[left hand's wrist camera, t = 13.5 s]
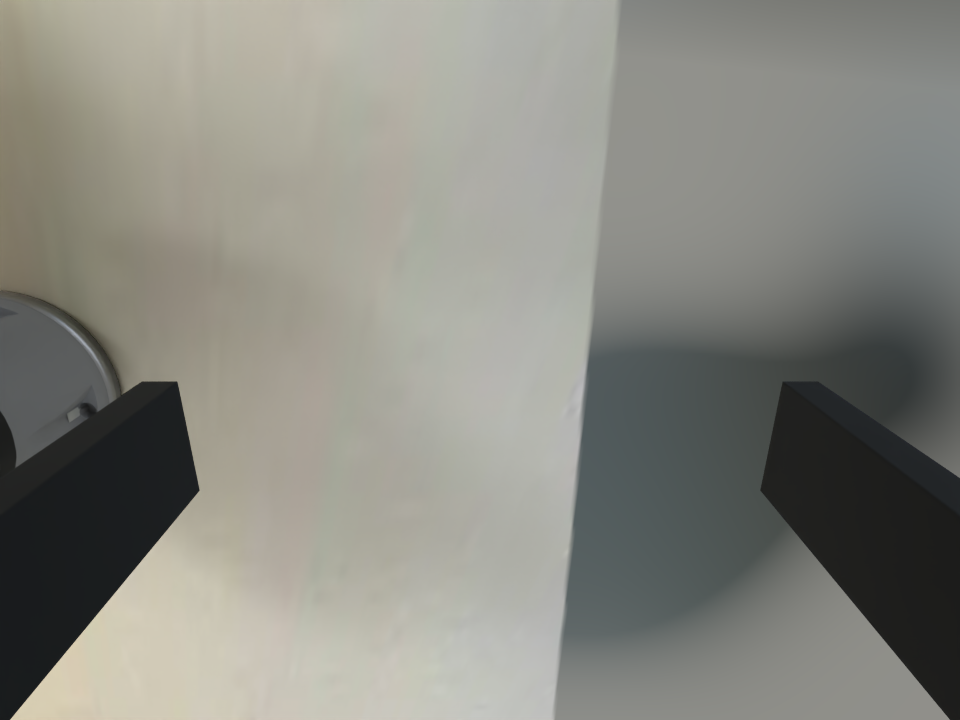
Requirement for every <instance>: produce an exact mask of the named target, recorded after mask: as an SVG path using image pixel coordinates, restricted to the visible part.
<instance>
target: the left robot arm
mask: <svg viewBox="0 0 960 720" xmlns="http://www.w3.org/2000/svg"><path fill="white" fill-rule="evenodd" d="M199 491H200V490H199V485H198V480H197V475H196V470H195V466H194V461H193V456H192V451H191V446H190V441H189V436H188V431H187V427H186V422H185V417H184V412H183V407H182V402H181V397H180V392H179V387H178V383H177V382H141V383H139V384H138V385H136V386H135V387H133V388H132V389H130V390H129V391H127V392H126V393H125V394H123V395H122V396H121V391H120V386H119V382H118V379H117V376H116V373H115V371H114V368H113V366H112V364H111V362H110V360H109V359H108V357H107V355H106V354H105V352H104V351H103V349H102V348H101V346H100V345H99V344H98V342H97V341H96V340H95V339H94V338H93V337H92V336H91V334H90V333H89V332H88V331H87V330H86V329H85V328H83V327H82V326H81V325H80V324H79V323H78V322H76V321H75V320H74V319H73V318H71V317H70V316H68V315H67V314H66V313H64V312H63V311H61V310H59V309H57V308H56V307H54V306H52V305H50V304H48V303H46V302H44V301H41V300H39V299H36V298H34V297H30V296H27V295H24V294H19V293H15V292H8V291H0V720H10V719H11V718H12V717H13V715H14V714H15V713H16V712H17V711H18V709H19V708H20V707H21V706H22V705H23V703H24V702H25V701H26V700H27V698H28V697H29V696H30V695H31V694H32V692H33V691H34V690H35V689H36V688H37V686H38V685H39V684H40V683H41V682H42V680H43V679H44V678H45V677H46V675H47V674H48V673H49V672H50V671H51V669H52V668H53V667H54V666H55V665H56V663H57V662H58V661H59V660H60V659H61V657H62V656H63V655H64V654H65V653H66V651H67V650H68V649H69V648H70V646H71V645H72V644H73V643H74V642H75V640H76V639H77V638H78V637H79V636H80V634H81V633H82V632H83V631H84V630H85V628H86V627H87V626H88V625H89V624H90V622H91V621H92V620H93V619H94V617H95V616H96V615H97V614H98V613H99V611H100V610H101V609H102V608H103V607H104V605H105V604H106V603H107V602H108V601H109V599H110V598H111V597H112V596H113V594H114V593H115V592H116V591H117V590H118V588H119V587H120V586H121V585H122V584H123V582H124V581H125V580H126V579H127V578H128V576H129V575H130V574H131V573H132V572H133V570H134V569H135V568H136V567H137V565H138V564H139V563H140V562H141V561H142V559H143V558H144V557H145V556H146V555H147V553H148V552H149V551H150V550H151V549H152V547H153V546H154V545H155V544H156V542H157V541H158V540H159V539H160V538H161V536H162V535H163V534H164V533H165V532H166V530H167V529H168V528H169V527H170V526H171V524H172V523H173V522H174V521H175V520H176V518H177V517H178V516H179V515H180V513H181V512H182V511H183V510H184V509H185V507H186V506H187V505H188V504H189V503H190V501H191V500H192V499H193V498H194V497H195V495H196V494H197V493H198V492H199ZM761 492H762V493H763V494H764V495H765V497H766V498H767V499H768V500H769V501H770V503H771V504H772V505H773V506H774V507H775V509H776V510H777V511H778V512H779V513H780V515H781V516H782V517H783V518H784V520H785V521H786V522H787V523H788V524H789V526H790V527H791V528H792V529H793V530H794V532H795V533H796V534H797V535H798V536H799V538H800V539H801V540H802V541H803V542H804V544H805V545H806V546H807V547H808V549H809V550H810V551H811V552H812V553H813V555H814V556H815V557H816V558H817V559H818V561H819V562H820V563H821V564H822V565H823V567H824V568H825V569H826V570H827V572H828V573H829V574H830V575H831V576H832V578H833V579H834V580H835V581H836V582H837V584H838V585H839V586H840V587H841V588H842V590H843V591H844V592H845V593H846V594H847V596H848V597H849V598H850V599H851V601H852V602H853V603H854V604H855V605H856V607H857V608H858V609H859V610H860V611H861V613H862V614H863V615H864V616H865V617H866V619H867V620H868V621H869V622H870V623H871V625H872V626H873V627H874V628H875V630H876V631H877V632H878V633H879V634H880V636H881V637H882V638H883V639H884V640H885V642H886V643H887V644H888V645H889V646H890V648H891V649H892V650H893V651H894V652H895V654H896V655H897V656H898V657H899V659H900V660H901V661H902V662H903V663H904V665H905V666H906V667H907V668H908V669H909V671H910V672H911V673H912V674H913V675H914V677H915V678H916V679H917V680H918V681H919V683H920V684H921V685H922V686H923V688H924V689H925V690H926V691H927V692H928V694H929V695H930V696H931V697H932V698H933V700H934V701H935V702H936V703H937V705H938V706H939V707H940V708H941V709H942V711H943V712H944V713H945V714H946V715H947V717H948V718H949V719H950V720H960V478H959V477H957V476H956V475H954V474H953V473H951V472H950V471H949V470H947V469H946V468H944V467H943V466H941V465H940V464H938V463H937V462H935V461H934V460H932V459H931V458H929V457H928V456H926V455H925V454H924V453H922V452H921V451H919V450H918V449H916V448H915V447H913V446H912V445H910V444H909V443H907V442H906V441H904V440H903V439H901V438H900V437H899V436H897V435H896V434H894V433H893V432H891V431H890V430H888V429H887V428H885V427H884V426H882V425H881V424H879V423H878V422H877V421H875V420H874V419H872V418H871V417H869V416H868V415H866V414H865V413H863V412H862V411H860V410H859V409H857V408H856V407H855V406H853V405H852V404H850V403H849V402H847V401H846V400H844V399H843V398H841V397H840V396H838V395H837V394H835V393H834V392H832V391H831V390H830V389H828V388H827V387H825V386H824V385H822V384H821V383H819V382H783V383H782V387H781V392H780V397H779V402H778V407H777V412H776V417H775V422H774V427H773V432H772V436H771V441H770V446H769V451H768V456H767V461H766V466H765V470H764V476H763V480H762V485H761Z"/></svg>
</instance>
